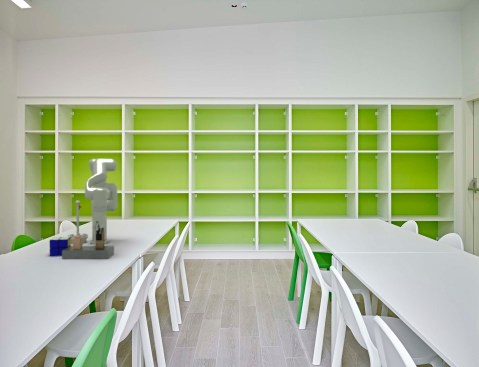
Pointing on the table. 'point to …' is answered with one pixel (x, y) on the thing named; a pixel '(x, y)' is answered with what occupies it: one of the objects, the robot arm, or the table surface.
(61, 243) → the puzzle cube
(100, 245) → the walnut plug
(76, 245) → the terracotta plug
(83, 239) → the flag stand
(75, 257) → the block
